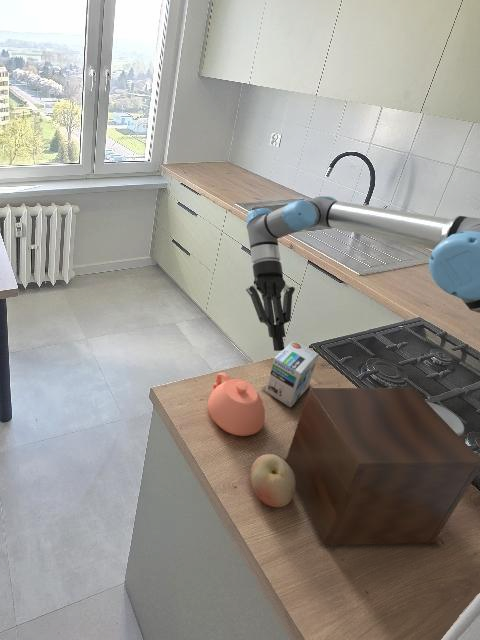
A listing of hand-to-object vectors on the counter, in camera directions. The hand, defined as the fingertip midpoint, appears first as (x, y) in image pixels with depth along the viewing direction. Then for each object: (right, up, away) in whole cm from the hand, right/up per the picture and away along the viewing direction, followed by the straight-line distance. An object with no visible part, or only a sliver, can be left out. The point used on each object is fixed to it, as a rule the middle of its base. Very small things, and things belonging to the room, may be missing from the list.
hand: (279, 350), depth 108 cm
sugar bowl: (-17, -12, -12) cm, 24 cm away
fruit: (-15, -19, -29) cm, 37 cm away
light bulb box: (0, -9, -4) cm, 10 cm away
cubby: (+1, -20, -29) cm, 35 cm away
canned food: (+22, -17, -19) cm, 33 cm away
